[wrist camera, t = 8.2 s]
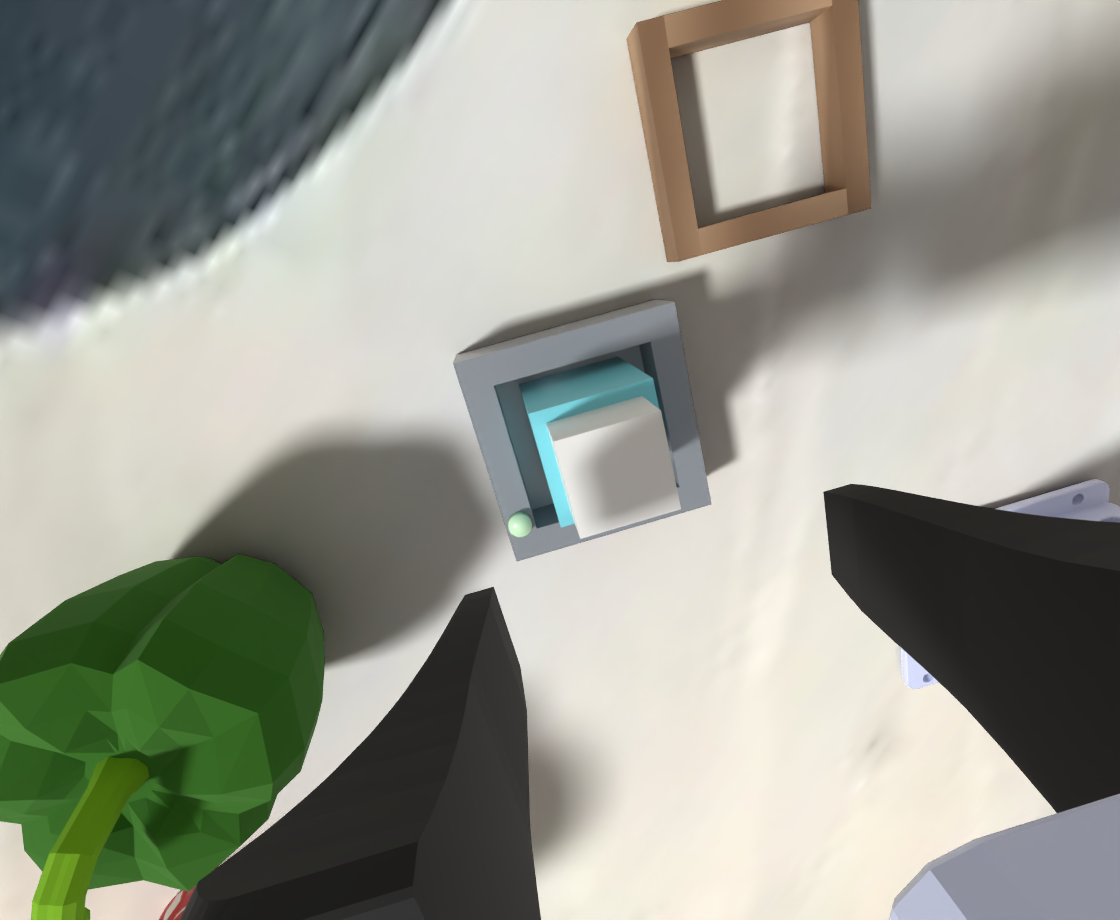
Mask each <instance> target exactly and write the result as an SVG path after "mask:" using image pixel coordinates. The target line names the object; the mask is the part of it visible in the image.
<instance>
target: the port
mask: <svg viewBox="0 0 1120 920" xmlns="http://www.w3.org/2000/svg"><path fill="white" fill-rule="evenodd" d="M616 356H618V357H620V358H622V359H623V360H625V361H626V362H628V363H630V364H631V365H633V366H634V367H636V368H637V369H639V370H641V371H642V372H644V373H645V374H647V375H649V376H650V377H652V378H653V381H654V386H655V391H656V395H657V400H658V405H659V409H660V410H661V413H662V418H663V423H664V428H665V433H666V438H667V442H668V447H669V452H670V457H671V462H672V467H673V472H674V477H675V482H676V486H677V491H678V496H679V501H680V506H681V509H680V510H677V511H673V512H670V513H667V514H663V515H660V516H657V517H653V518H650V519H646V520H643V521H640V522H636V523H633V524H630V525H626V526H623V527H619V528H616V529H613V530H609V531H606V532H602V533H599V534H596V535H592V536H589V537H586V538H582V539H580V537H579V534H578V531H577V528H576V526H575V524H572V525H568V526H565V527H562V528H561V526H560V523H559V520H558V516H557V513H556V510H555V507H554V503H553V500H552V497H551V493H550V490H549V487H548V483H547V480H546V477H545V473H544V470H543V466H542V463H541V459H540V456H539V453H538V449H537V446H536V442H535V439H534V435H533V432H532V428H531V425H530V421H529V418H528V414H527V411H526V407H525V404H524V400H523V397H522V393H521V390H520V387H519V384H521V383H525V382H528V381H532V380H535V379H539V378H542V377H546V376H549V375H553V374H557V373H560V372H564V371H567V370H571V369H574V368H578V367H581V366H585V365H588V364H592V363H595V362H599V361H602V360H606V359H609V358H613V357H616ZM453 365H454V368H455V371H456V374H457V377H458V380H459V383H460V386H461V389H462V393H463V396H464V399H465V402H466V405H467V408H468V411H469V414H470V417H471V421H472V424H473V427H474V430H475V433H476V436H477V439H478V442H479V445H480V449H481V452H482V455H483V458H484V461H485V464H486V467H487V470H488V473H489V476H490V480H491V483H492V486H493V489H494V492H495V495H496V498H497V501H498V504H499V508H500V511H501V514H502V517H503V520H504V523H505V526H506V529H507V532H508V536H509V539H510V542H511V545H512V548H513V551H514V554H515V557H516V560H517V561H520V560H523V559H527V558H530V557H534V556H537V555H540V554H544V553H547V552H551V551H554V550H558V549H561V548H564V547H568V546H571V545H575V544H578V543H581V542H585V541H588V540H592V539H595V538H598V537H602V536H605V535H609V534H612V533H615V532H619V531H622V530H626V529H629V528H632V527H636V526H639V525H643V524H646V523H649V522H653V521H656V520H660V519H663V518H666V517H670V516H673V515H677V514H680V513H684V512H687V511H690V510H694V509H697V508H701V507H704V506H707V505H711V499H710V494H709V488H708V483H707V477H706V472H705V466H704V461H703V455H702V450H701V444H700V439H699V433H698V427H697V422H696V416H695V411H694V405H693V400H692V394H691V389H690V383H689V378H688V372H687V367H686V361H685V356H684V350H683V345H682V339H681V334H680V328H679V323H678V317H677V312H676V306H675V302H672V301H666V300H659V299H655V300H651V301H648V302H644V303H641V304H637V305H633V306H630V307H626V308H623V309H619V310H615V311H612V312H608V313H605V314H601V315H597V316H594V317H590V318H587V319H583V320H580V321H576V322H572V323H569V324H565V325H562V326H558V327H554V328H551V329H547V330H544V331H540V332H536V333H533V334H529V335H526V336H522V337H518V338H515V339H511V340H508V341H504V342H500V343H497V344H493V345H490V346H486V347H482V348H479V349H475V350H472V351H468V352H465V353H461V354H457V355H456V357H455V360H454V363H453Z"/></svg>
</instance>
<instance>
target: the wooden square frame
mask: <svg viewBox="0 0 1120 920" xmlns="http://www.w3.org/2000/svg"><path fill="white" fill-rule="evenodd" d="M809 22H810V27H811V38H812V49H813V61H814V72H815V83H816V95H817V106H818V117H819V129H820V140H821V151H822V163H823V174H824V185H825V193H824V194H820V195H817V196H813V197H809V198H806V199H802V200H798V201H795V202H791V203H787V204H784V205H780V206H777V207H773V208H769V209H766V210H762V211H758V212H755V213H751V214H747V215H744V216H740V217H736V218H733V219H729V220H725V221H722V222H718V223H715V224H711V225H707V226H704V227H700V228H698V226H697V220H696V214H695V207H694V201H693V195H692V189H691V183H690V176H689V170H688V164H687V158H686V152H685V145H684V139H683V133H682V127H681V120H680V114H679V108H678V102H677V96H676V89H675V83H674V77H673V71H672V65H671V58H675V57H679V56H683V55H687V54H690V53H694V52H698V51H702V50H706V49H710V48H713V47H717V46H721V45H725V44H729V43H732V42H736V41H740V40H744V39H748V38H752V37H755V36H759V35H763V34H767V33H771V32H774V31H778V30H782V29H786V28H790V27H794V26H797V25H801V24H805V23H809ZM627 43H628V49H629V54H630V60H631V65H632V71H633V76H634V82H635V87H636V93H637V98H638V104H639V109H640V115H641V120H642V126H643V132H644V137H645V143H646V148H647V154H648V159H649V165H650V170H651V176H652V181H653V187H654V192H655V198H656V203H657V209H658V214H659V220H660V225H661V231H662V236H663V242H664V247H665V253H666V258H667V262H678V261H682V260H686V259H689V258H693V257H697V256H700V255H704V254H707V253H711V252H715V251H718V250H722V249H726V248H729V247H733V246H736V245H740V244H744V243H747V242H751V241H755V240H758V239H762V238H765V237H769V236H773V235H776V234H780V233H783V232H787V231H791V230H794V229H798V228H802V227H805V226H809V225H812V224H816V223H820V222H823V221H827V220H831V219H834V218H838V217H841V216H845V215H849V214H852V213H856V212H860V211H863V210H867V209H870V208H871V195H870V179H869V163H868V148H867V132H866V116H865V100H864V84H863V69H862V53H861V37H860V21H859V6H858V0H722V1H718V2H714V3H710V4H706V5H703V6H699V7H695V8H691V9H687V10H683V11H679V12H676V13H672V14H668V15H664V16H660V17H656V18H652V19H648V20H645V21H641V22H637V23H636V24H635V26H634V28H633V29H632V31H631V33H630V34H629V36H628V37H627Z"/></svg>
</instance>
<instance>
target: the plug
mask: <svg viewBox="0 0 1120 920" xmlns="http://www.w3.org/2000/svg"><path fill="white" fill-rule="evenodd" d="M519 387H520V390H521V393H522V397H523V400H524V404H525V407H526V411H527V414H528V418H529V421H530V425H531V428H532V432H533V435H534V439H535V442H536V446H537V449H538V453H539V456H540V459H541V463H542V466H543V470H544V473H545V477H546V480H547V483H548V487H549V490H550V493H551V497H552V500H553V503H554V507H555V510H556V513H557V516H558V520H559V523H560V526H561V528H562V527H565V526H568V525H572V524H575V526H576V528H577V531H578V534H579V537H580V539H582V538H586V537H589V536H592V535H596V534H599V533H602V532H606V531H609V530H613V529H616V528H619V527H623V526H626V525H630V524H633V523H636V522H640V521H643V520H646V519H650V518H653V517H657V516H660V515H663V514H667V513H670V512H673V511H677V510H680V509H681V506H680V501H679V496H678V491H677V486H676V482H675V477H674V472H673V467H672V462H671V457H670V452H669V447H668V442H667V438H666V433H665V428H664V423H663V418H662V413H661V410H660V409H659V405H658V400H657V395H656V391H655V386H654V381H653V378H652V377H650V376H649V375H647V374H645V373H644V372H642V371H641V370H639V369H637V368H636V367H634V366H633V365H631V364H630V363H628V362H626V361H625V360H623V359H622V358H620V357H618V356H616V357H613V358H609V359H606V360H602V361H599V362H595V363H592V364H588V365H585V366H581V367H578V368H574V369H571V370H567V371H564V372H560V373H557V374H553V375H549V376H546V377H542V378H539V379H535V380H532V381H528V382H525V383H521V384H519Z"/></svg>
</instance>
